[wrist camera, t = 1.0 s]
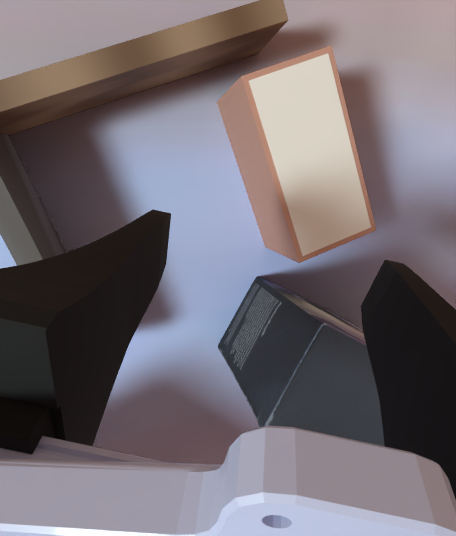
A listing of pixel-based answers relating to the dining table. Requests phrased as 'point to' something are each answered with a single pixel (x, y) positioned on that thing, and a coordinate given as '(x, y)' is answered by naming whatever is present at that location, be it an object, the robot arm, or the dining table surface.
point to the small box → (302, 365)
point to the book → (298, 155)
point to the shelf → (110, 99)
